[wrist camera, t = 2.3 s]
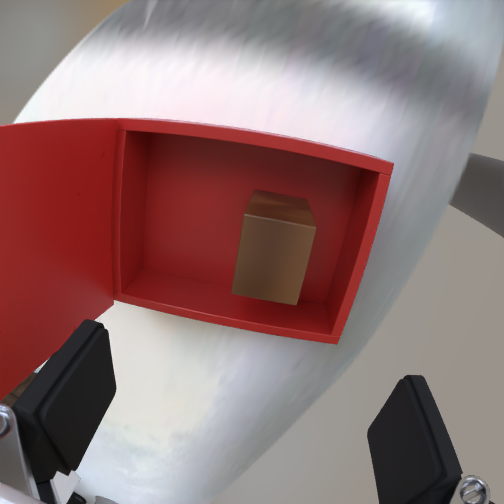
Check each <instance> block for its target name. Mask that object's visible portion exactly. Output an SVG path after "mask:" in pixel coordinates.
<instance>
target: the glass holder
mask: <svg viewBox="0 0 504 504" xmlns="http://www.w3.org/2000/svg"><path fill="white" fill-rule="evenodd" d="M95 504H117V503H115V502H113V501H111V500H109V499H106V498H103V497H100V496H96V502H95Z"/></svg>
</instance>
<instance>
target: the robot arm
mask: <svg viewBox="0 0 504 504" xmlns="http://www.w3.org/2000/svg"><path fill="white" fill-rule="evenodd" d="M115 393H116V381H115V375H114V369H113V363H112V356H111V349H110V341H109V333H108V330H107V329H104V325H103V324H102V323H99V322H96V321H93V320H89V319H85V320H84V321H83V322H82V323H81V324H80V325H79V326H78V327H77V329H76V330H75V331H74V332H73V333H72V335H71V336H70V337H69V338H68V339H67V341H66V342H65V343H64V344H63V345H62V347H61V348H60V349H59V350H58V351H56V352H55V353H54V354H53V355H52V356H51V357H50V358H49V360H48V361H47V362H46V363H45V365H44V366H43V367H42V368H41V370H40V371H39V372H38V373H37V375H36V376H35V377H34V378H33V380H32V381H31V382H30V384H29V385H28V386H27V388H26V389H25V390H24V391H23V393H22V394H21V395H20V397H19V398H18V399H17V401H16V402H15V403H14V405H13V406H12V408H10V407H9V406H7V405H6V404H2V403H0V504H61V502H60V499H59V496H58V493H57V490H56V487H55V484H54V481H53V478H54V477H55V475H56V473H57V471H58V472H60V473H62V474H64V475H66V476H69V474H70V472H71V470H72V471H76V470H77V468H78V466H79V464H80V462H81V460H82V458H83V456H84V454H85V452H86V450H87V448H88V446H89V444H90V442H91V440H92V438H93V436H94V434H95V432H96V430H97V428H98V426H99V424H100V422H101V421H102V419H103V417H104V415H105V413H106V411H107V409H108V407H109V405H110V403H111V401H112V400H113V398H114V396H115ZM367 438H368V443H369V448H370V453H371V458H372V464H373V469H374V475H375V479H376V486H377V492H378V498H379V504H495V503H493V502H491V501H490V489H489V487H488V485H487V483H486V482H485V481H484V480H483V479H481V478H480V477H478V476H475V475H469V476H466V477H464V478H463V479H462V478H461V474H462V473H463V472H462V469H461V467H460V464H459V461H458V458H457V455H456V453H455V450H454V447H453V445H452V442H451V440H450V437H449V434H448V432H447V429H446V427H445V424H444V422H443V419H442V417H441V415H440V412H439V410H438V407H437V405H436V403H435V400H434V398H433V396H432V394H431V391H430V389H429V387H428V385H427V382H426V380H425V378H424V377H423V376H421V375H406V376H405V377H404V378H403V379H401V380H399V382H398V383H397V385H396V387H395V388H394V390H393V392H392V393H391V395H390V396H389V398H388V400H387V401H386V403H385V404H384V406H383V408H382V409H381V411H380V412H379V414H378V415H377V417H376V418H375V420H374V421H373V422H372V424H371V426H370V427H369V429H368V433H367Z"/></svg>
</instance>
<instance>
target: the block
mask: <svg viewBox="0 0 504 504" xmlns="http://www.w3.org/2000/svg"><path fill="white" fill-rule="evenodd" d="M315 233H316V225H315V222H314V219H313V216H312V213H311V210H310V207H309V204H308V201H307V199H304V198H299V197H294V196H289V195H284V194H279V193H273V192H268V191H263V190H257V189H255V190H254V191H253V194H252V196H251V198H250V201H249V203H248V205H247V207H246V210H245V212H244V214H243V220H242V226H241V232H240V238H239V245H238V251H237V257H236V264H235V270H234V276H233V283H232V289H231V293H232V294H236V295H241V296H246V297H251V298H257V299H262V300H268V301H273V302H279V303H284V304H290V305H297V302H298V299H299V295H300V291H301V288H302V284H303V280H304V276H305V272H306V269H307V265H308V261H309V257H310V253H311V249H312V245H313V241H314V237H315Z"/></svg>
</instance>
